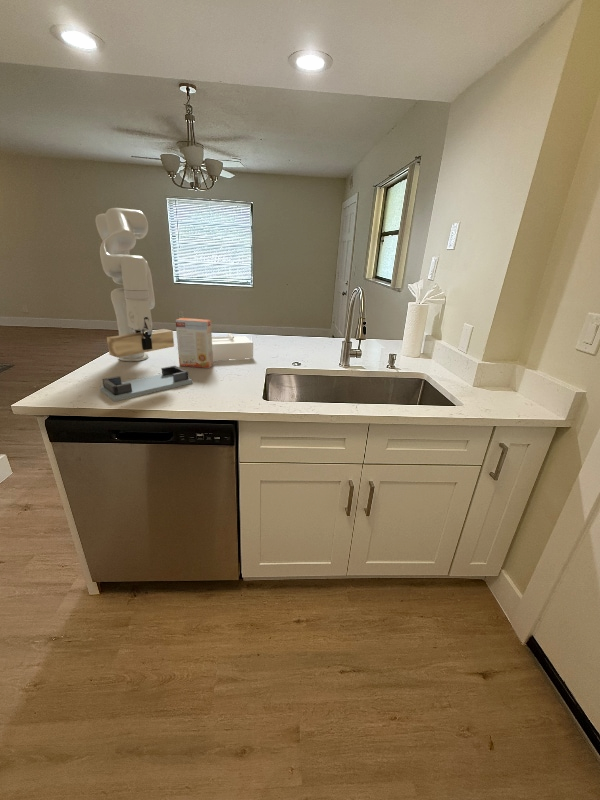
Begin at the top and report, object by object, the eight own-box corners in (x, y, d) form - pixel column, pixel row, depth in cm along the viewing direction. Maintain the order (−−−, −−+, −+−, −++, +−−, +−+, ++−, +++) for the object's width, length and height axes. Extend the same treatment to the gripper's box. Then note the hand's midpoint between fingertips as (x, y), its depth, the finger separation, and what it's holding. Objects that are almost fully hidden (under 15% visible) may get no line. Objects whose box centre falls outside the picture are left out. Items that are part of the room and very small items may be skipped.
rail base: (100, 390, 122) (98, 378, 120) (176, 374, 142) (175, 364, 140) (114, 401, 114) (112, 388, 112) (192, 383, 133) (191, 372, 132)
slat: (109, 354, 115) (106, 337, 112) (166, 344, 132) (164, 328, 129) (117, 357, 112) (114, 339, 110) (174, 346, 129) (172, 330, 127)
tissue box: (253, 359, 170) (253, 337, 166) (202, 362, 160) (200, 339, 156) (245, 352, 182) (245, 331, 178) (197, 354, 172) (196, 333, 168)
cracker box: (213, 364, 157) (211, 319, 149) (209, 368, 152) (206, 321, 143) (184, 362, 158) (180, 317, 150) (178, 366, 152) (174, 319, 144)
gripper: (115, 293, 117) (123, 344, 124) (136, 298, 107) (143, 354, 114) (137, 292, 123) (143, 341, 129) (159, 297, 112) (165, 351, 119)
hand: (143, 347), depth 122 cm, fingers closed on slat, 5 cm apart
